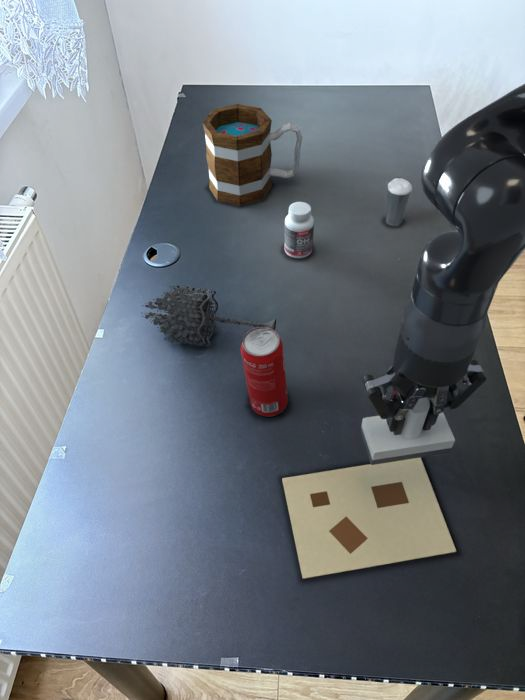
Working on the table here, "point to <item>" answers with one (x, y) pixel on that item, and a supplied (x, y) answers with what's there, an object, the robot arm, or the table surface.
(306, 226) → the pill bottle
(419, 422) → the scrub brush
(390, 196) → the milkshake
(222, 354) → the table surface
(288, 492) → the stain mat
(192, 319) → the dark grey model tree
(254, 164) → the mug
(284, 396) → the beverage can
